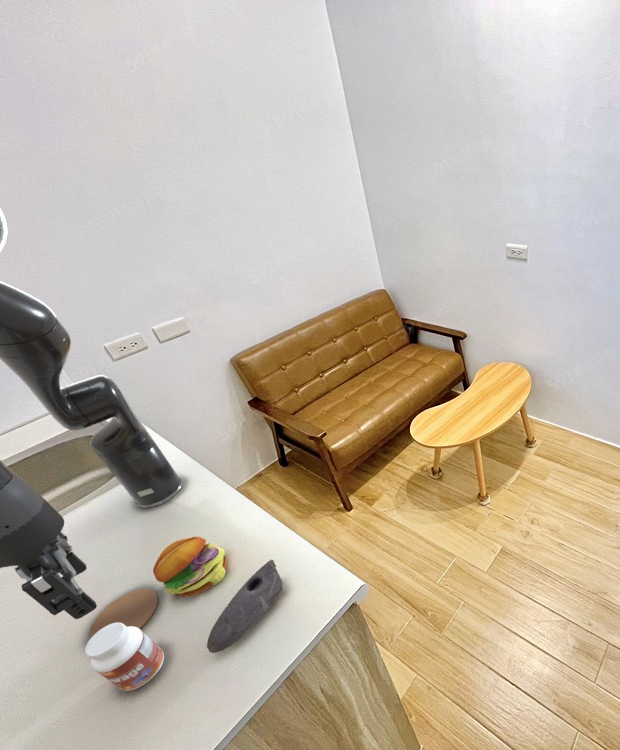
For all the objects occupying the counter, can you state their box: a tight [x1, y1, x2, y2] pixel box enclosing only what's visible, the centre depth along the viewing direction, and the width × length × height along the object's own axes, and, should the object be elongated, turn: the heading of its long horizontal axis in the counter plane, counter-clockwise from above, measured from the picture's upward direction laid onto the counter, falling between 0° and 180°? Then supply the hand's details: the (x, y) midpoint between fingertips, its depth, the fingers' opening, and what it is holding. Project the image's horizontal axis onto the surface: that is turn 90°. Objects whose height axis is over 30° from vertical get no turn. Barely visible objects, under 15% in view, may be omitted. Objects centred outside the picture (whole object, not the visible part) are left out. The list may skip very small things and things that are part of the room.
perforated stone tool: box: [206, 559, 284, 654], centre depth 70 cm, size 15×5×7 cm, turn 156°
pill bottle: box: [84, 623, 165, 692], centre depth 62 cm, size 6×6×11 cm
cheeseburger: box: [152, 536, 228, 598], centre depth 76 cm, size 10×11×10 cm
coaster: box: [88, 588, 159, 641], centre depth 72 cm, size 10×10×1 cm
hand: (82, 591), depth 54 cm, fingers open, 8 cm apart
